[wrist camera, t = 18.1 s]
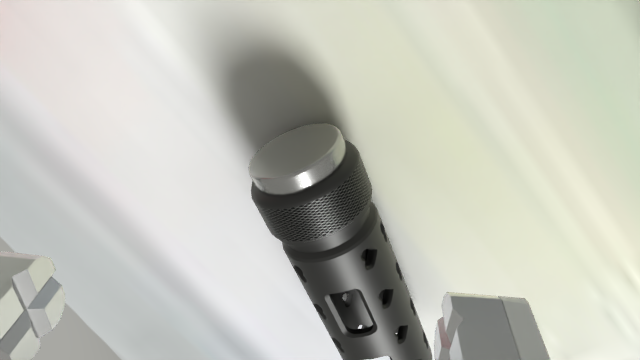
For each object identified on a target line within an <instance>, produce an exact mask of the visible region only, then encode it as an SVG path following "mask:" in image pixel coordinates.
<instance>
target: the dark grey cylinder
mask: <svg viewBox="0 0 640 360" xmlns="http://www.w3.org/2000/svg"><path fill="white" fill-rule="evenodd" d="M249 174H250V176H251V178H252V180H253V182H252V188H251V194H252V199H253V201H254V203H255V205H256V206H257V208H258V210H259V212H260V214H261V216H262V217H263V219H264V221H265V223H266V225H267V227H268V228H269V230H270V232H271V233H272V235H274V236H275V237H276V238H278V239H279V240H281V241H282V244H283V249H284V251H285V253H286V255H287V256H288V258H289V260H290V262H291V264H292V266H293V268H294V269H295V271H296V273H297V275H298V277H299V279H300V281H301V282H302V284H303V286H304V288H305V290H306V292H307V294H308V295H309V297H310V299H311V301H312V303H313V305H314V307H315V308H316V310H317V312H318V314H319V316H320V318H321V320H322V321H323V323H324V325H325V327H326V329H327V331H328V333H329V334H330V336H331V338H332V340H333V342H334V344H335V346H336V347H337V349H338V351H339V353H340V355H341V357H342V359H343V360H363V359H374V358H378V357H382V356H389V357H390V359H391V360H432V353H431V349H430V346H429V343H428V341H427V338H426V336H425V333H424V330H423V328H422V325H421V323H420V320H419V317H418V315H417V312H416V310H415V307H414V304H413V302H412V299H411V297H410V294H409V291H408V289H407V286H406V283H405V281H404V278H403V276H402V273H401V270H400V268H399V265H398V263H397V260H396V257H395V255H394V252H393V250H392V247H391V244H390V242H389V239H388V237H387V234H386V231H385V229H384V226H383V224H382V221H381V218H380V216H379V213H378V211H377V208H376V207H375V205H374V203H372V202H371V194H372V188H371V183H370V181H369V178H368V175H367V173H366V170H365V167H364V165H363V162H362V159H361V157H360V154H359V152H358V150H357V149H356V147H355V146H354V145H353V144H351V143H350V142H348V141H347V140H345V139H343V136H342V134H341V132H340V130H339V129H338V128H337V127H336V126H334V125H331V124H326V123H315V124H309V125H305V126H301V127H298V128H295V129H292V130H290V131H288V132H285V133H283V134H281V135H280V136H278V137H276V138H274V139H273V140H271V141H270V142H268V143H267V144H266V145H264V146H263V147H262V148H261V149H260V150H259V151H258V152H257V153H256V154H255V155H254V156H253V158H252V159H251V161H250V164H249ZM344 293H348V296H347V299H346V301H344V300H343V299H342V296H343V294H344ZM359 325H363V326H362V329H358V326H359ZM395 333H398V334H395Z"/></svg>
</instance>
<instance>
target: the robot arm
mask: <svg viewBox="0 0 640 360" xmlns="http://www.w3.org/2000/svg"><path fill="white" fill-rule="evenodd" d="M55 271H56V269H55V267H54V264H53V262H52V260H51V258H48V257H45V256H39V255H30V254H21V253H13V252H4V251H0V360H32V359H33V358H34V356H35V355H36V354H37V352H38V351H39V349H40V337H42V336H44V335H45V334H47V333H49V332H50V331H52V330H53V329H54V328H55V326H56V325H57V323H58V322H59V320H60V319H61V316H62V313H63V309H64V306H65V293H64V290H63V287H62V285H61V284H60V283H58V282H57V281H56V280H55V279H54V278H53V277H52V276H53V274H54V272H55ZM442 311H443V317H442V318H440V319H439V320H438V321H437V326H436V330H435V340H434V355H435V360H550V357H549V354H548V352H547V349H546V347H545V344H544V341H543V339H542V336H541V334H540V331H539V328H538V326H537V323H536V321H535V318H534V315H533V313H532V310H531V307H530V305H529V302H528V301H527V300H526V299H525V298H514V297H502V296H498V297H497V296H490V295H477V294H465V293H452V292H447V293H446V294H445V296H444V298H443V302H442Z"/></svg>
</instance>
